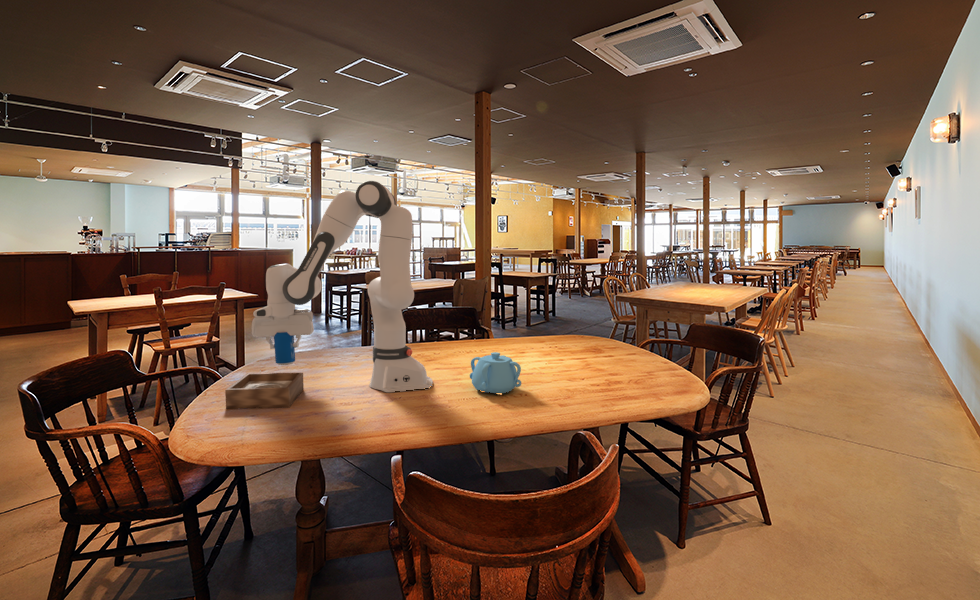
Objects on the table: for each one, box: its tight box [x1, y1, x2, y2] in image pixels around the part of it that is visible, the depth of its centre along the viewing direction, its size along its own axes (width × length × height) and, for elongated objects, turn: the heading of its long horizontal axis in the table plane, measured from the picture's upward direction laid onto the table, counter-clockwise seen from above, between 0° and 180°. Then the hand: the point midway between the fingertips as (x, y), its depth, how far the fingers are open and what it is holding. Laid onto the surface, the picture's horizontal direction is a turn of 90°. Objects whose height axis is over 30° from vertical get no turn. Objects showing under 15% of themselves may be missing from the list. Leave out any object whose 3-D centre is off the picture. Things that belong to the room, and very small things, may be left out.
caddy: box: [224, 372, 305, 410], centre depth 149 cm, size 18×18×6 cm
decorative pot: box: [469, 351, 522, 394], centre depth 163 cm, size 16×16×14 cm
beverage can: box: [273, 331, 296, 366], centre depth 165 cm, size 6×6×12 cm
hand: (284, 348), depth 165 cm, fingers closed on beverage can, 6 cm apart
